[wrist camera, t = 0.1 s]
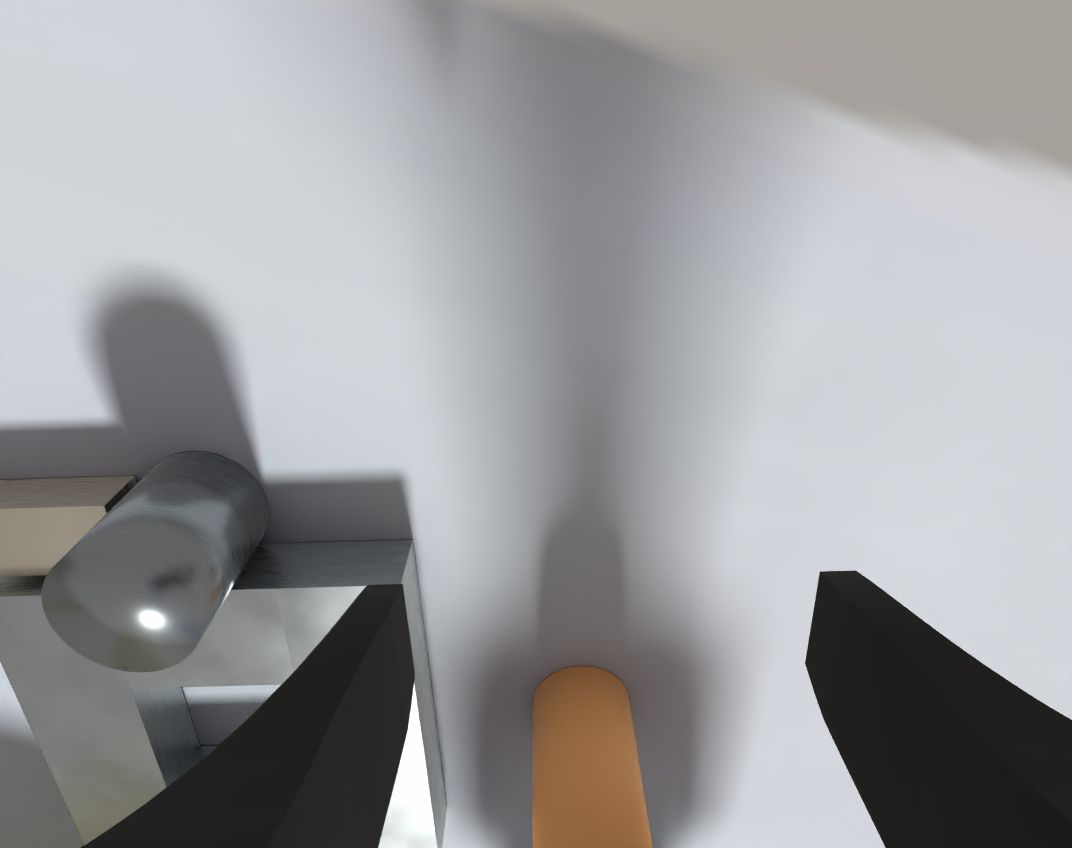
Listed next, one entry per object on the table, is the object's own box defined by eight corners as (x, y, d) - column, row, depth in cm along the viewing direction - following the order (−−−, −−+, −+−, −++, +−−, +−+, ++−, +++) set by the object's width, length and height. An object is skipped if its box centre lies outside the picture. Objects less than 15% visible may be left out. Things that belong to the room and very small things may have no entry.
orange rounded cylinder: (628, 736, 28) (656, 930, 21) (534, 738, 28) (534, 932, 21) (630, 664, 26) (661, 850, 20) (531, 667, 26) (530, 853, 20)
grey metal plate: (446, 807, 29) (430, 945, 24) (-52, 819, 29) (-164, 959, 25) (400, 444, 22) (364, 540, 17) (-253, 465, 22) (-462, 565, 18)
